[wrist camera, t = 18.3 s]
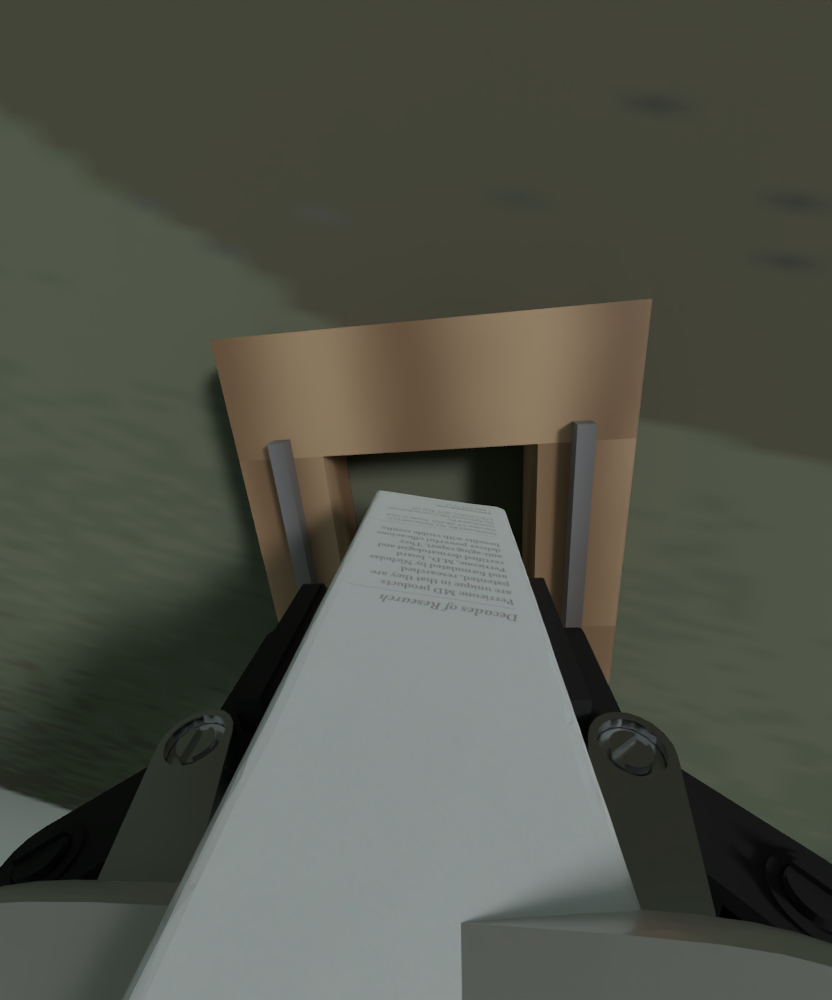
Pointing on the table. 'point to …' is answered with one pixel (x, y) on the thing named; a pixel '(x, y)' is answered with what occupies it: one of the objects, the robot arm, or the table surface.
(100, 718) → the table surface
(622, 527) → the brown wooden sliding box
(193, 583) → the table surface
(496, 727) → the skincare box
